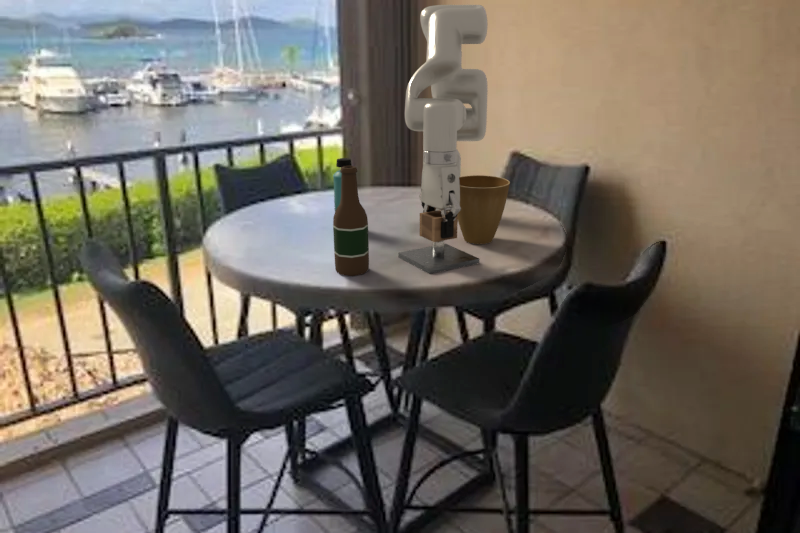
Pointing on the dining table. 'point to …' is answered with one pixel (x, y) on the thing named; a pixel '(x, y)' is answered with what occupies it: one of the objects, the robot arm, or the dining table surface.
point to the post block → (438, 257)
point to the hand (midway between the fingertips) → (438, 233)
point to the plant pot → (481, 206)
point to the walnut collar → (434, 226)
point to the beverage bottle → (339, 180)
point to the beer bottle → (350, 228)
